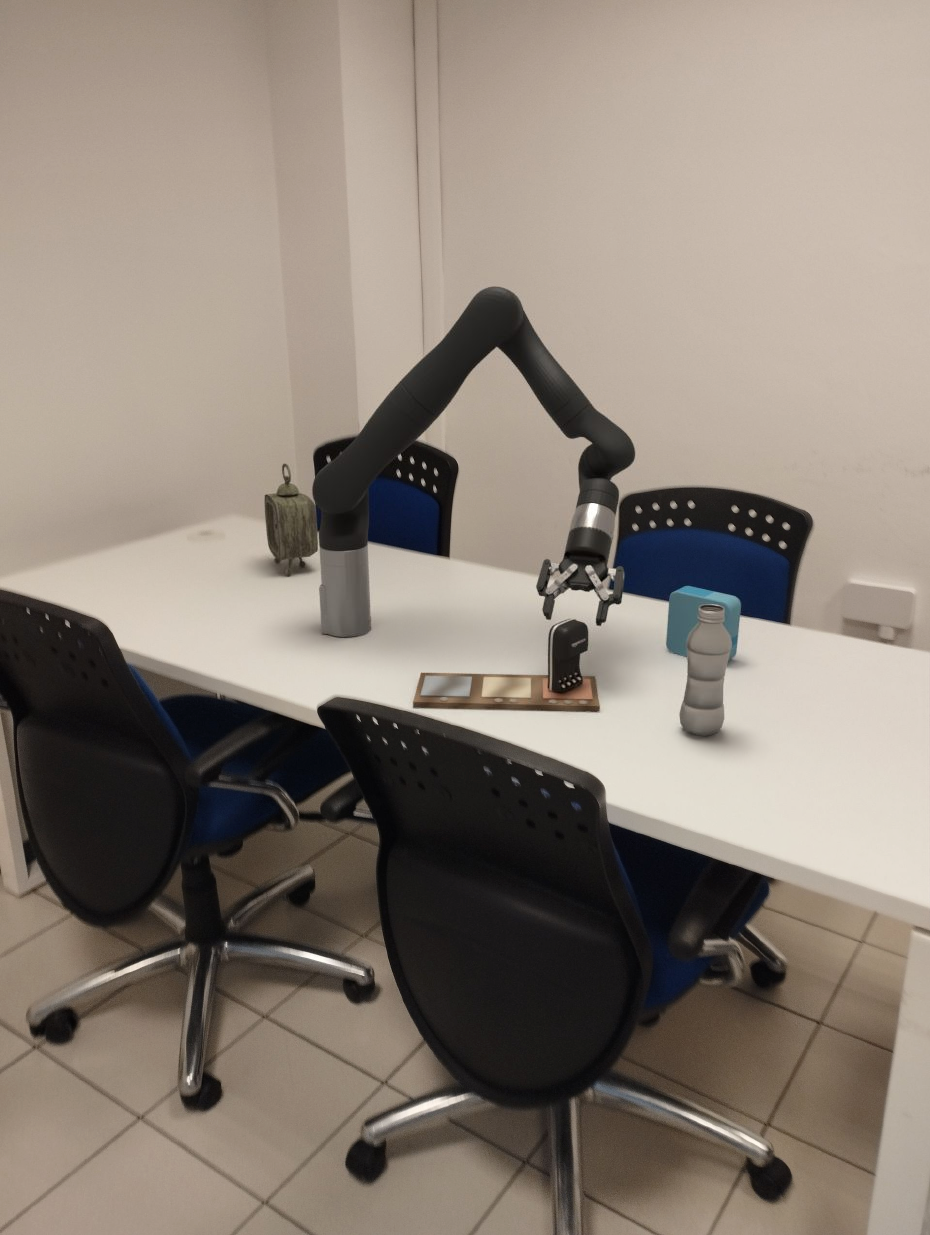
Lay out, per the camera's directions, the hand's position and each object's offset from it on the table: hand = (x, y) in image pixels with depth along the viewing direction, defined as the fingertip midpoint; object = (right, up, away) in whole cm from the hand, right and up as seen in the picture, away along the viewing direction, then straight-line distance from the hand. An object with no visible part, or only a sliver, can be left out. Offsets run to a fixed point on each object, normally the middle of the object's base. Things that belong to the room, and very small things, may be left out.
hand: (572, 620), depth 159 cm
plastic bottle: (+18, -17, -11) cm, 27 cm away
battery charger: (-1, -11, +1) cm, 11 cm away
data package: (+25, -7, +17) cm, 31 cm away
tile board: (-11, -12, +2) cm, 16 cm away
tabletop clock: (-58, +12, +70) cm, 92 cm away
